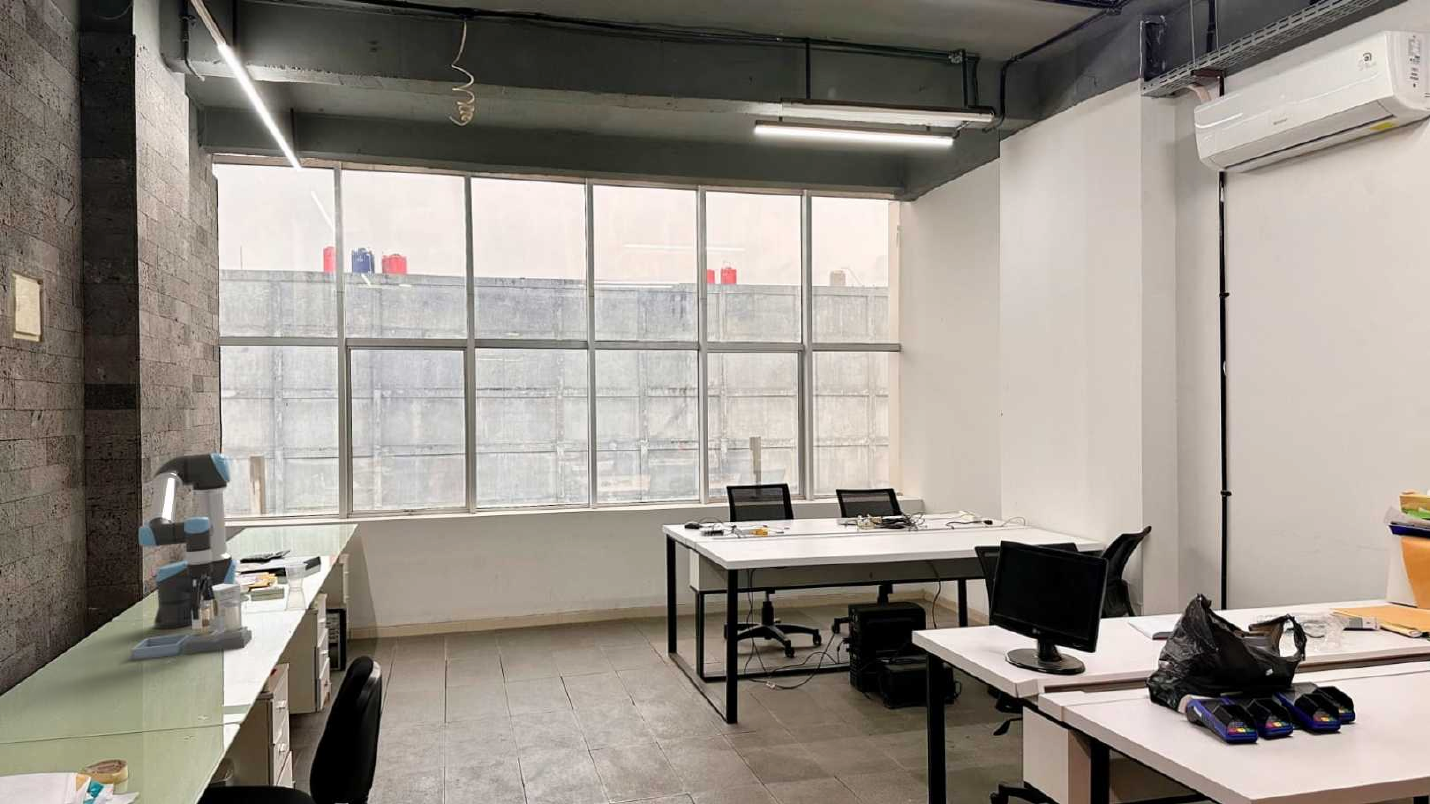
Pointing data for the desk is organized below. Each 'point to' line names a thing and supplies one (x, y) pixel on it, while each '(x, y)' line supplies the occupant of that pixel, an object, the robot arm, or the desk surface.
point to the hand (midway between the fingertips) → (203, 623)
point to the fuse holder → (222, 634)
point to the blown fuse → (204, 620)
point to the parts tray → (160, 646)
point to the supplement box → (222, 595)
